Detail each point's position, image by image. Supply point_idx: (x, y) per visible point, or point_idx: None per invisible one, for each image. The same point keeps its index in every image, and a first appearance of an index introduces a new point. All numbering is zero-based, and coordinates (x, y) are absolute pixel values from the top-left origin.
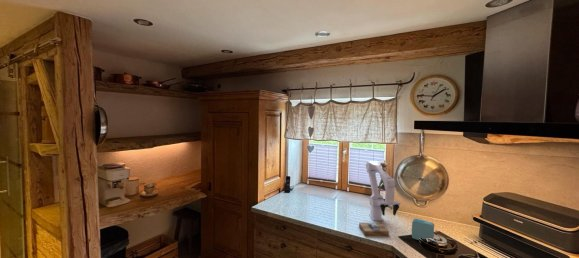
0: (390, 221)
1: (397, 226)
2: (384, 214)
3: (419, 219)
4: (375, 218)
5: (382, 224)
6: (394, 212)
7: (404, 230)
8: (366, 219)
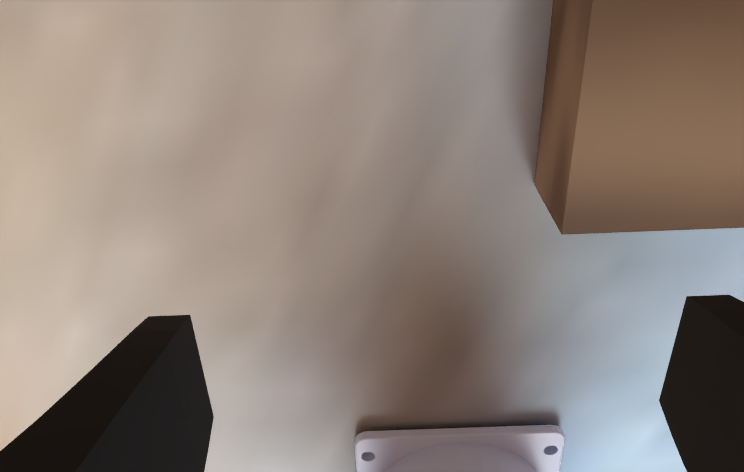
0: (228, 413)
1: (141, 237)
2: (724, 320)
3: None
4: (515, 466)
5: (581, 157)
6: (138, 444)
7: (14, 57)
8: (668, 451)
